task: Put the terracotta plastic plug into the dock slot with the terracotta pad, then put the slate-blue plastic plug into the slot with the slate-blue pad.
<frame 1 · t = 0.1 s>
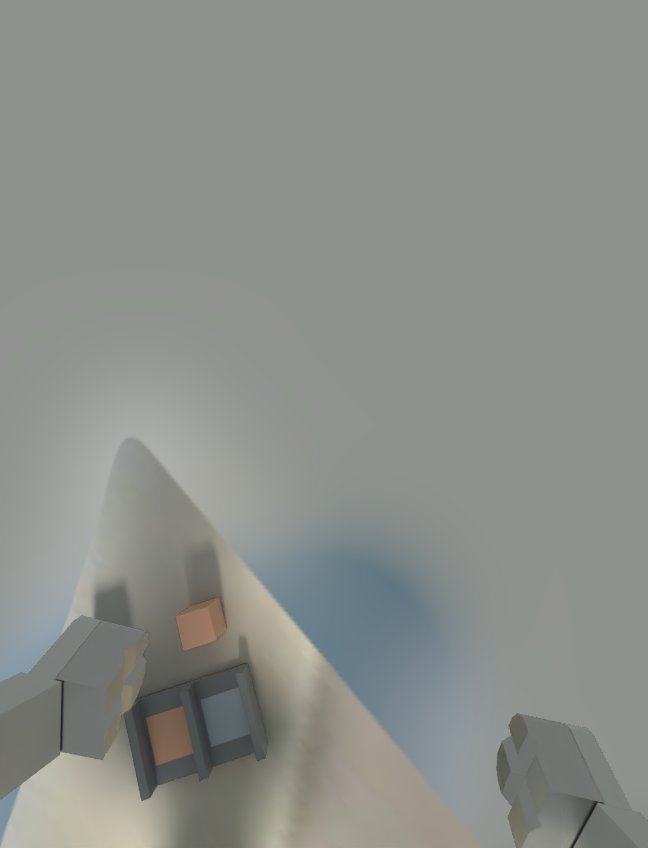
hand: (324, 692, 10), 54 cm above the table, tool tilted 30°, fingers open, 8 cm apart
slot dock: (200, 721, 59), on the table
terracotta plug: (208, 616, 61), on the table
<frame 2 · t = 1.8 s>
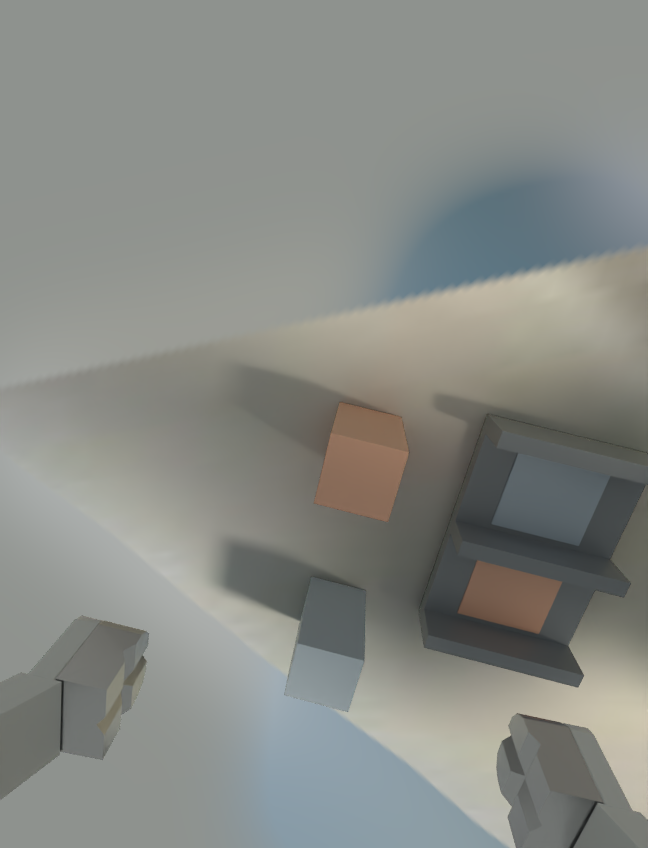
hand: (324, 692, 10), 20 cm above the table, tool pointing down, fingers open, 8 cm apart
slot dock: (524, 538, 30), on the table
slate-blue plug: (332, 606, 34), on the table
terracotta plug: (362, 438, 30), on the table
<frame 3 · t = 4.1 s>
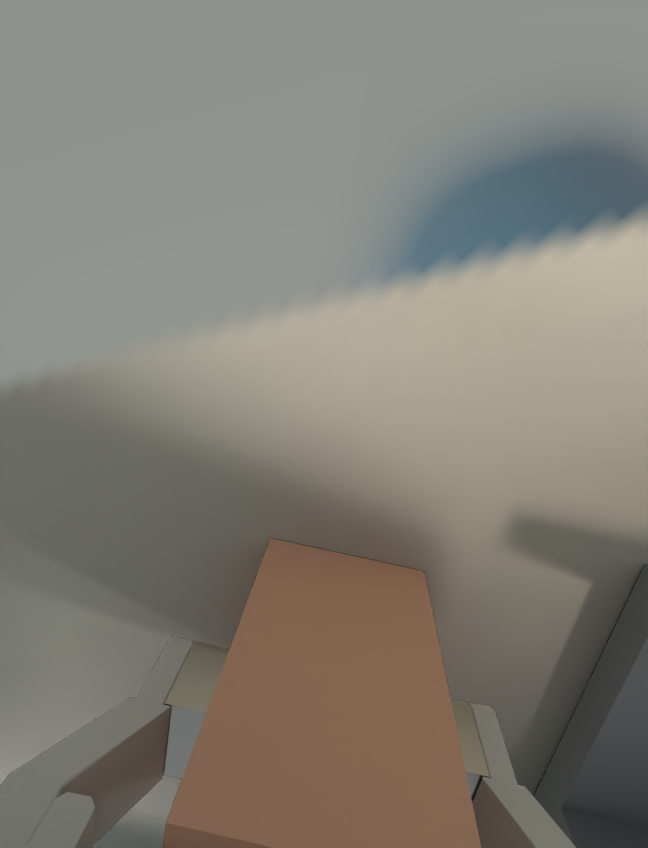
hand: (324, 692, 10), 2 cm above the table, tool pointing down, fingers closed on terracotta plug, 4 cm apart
terracotta plug: (331, 617, 12), on the table, touching gripper
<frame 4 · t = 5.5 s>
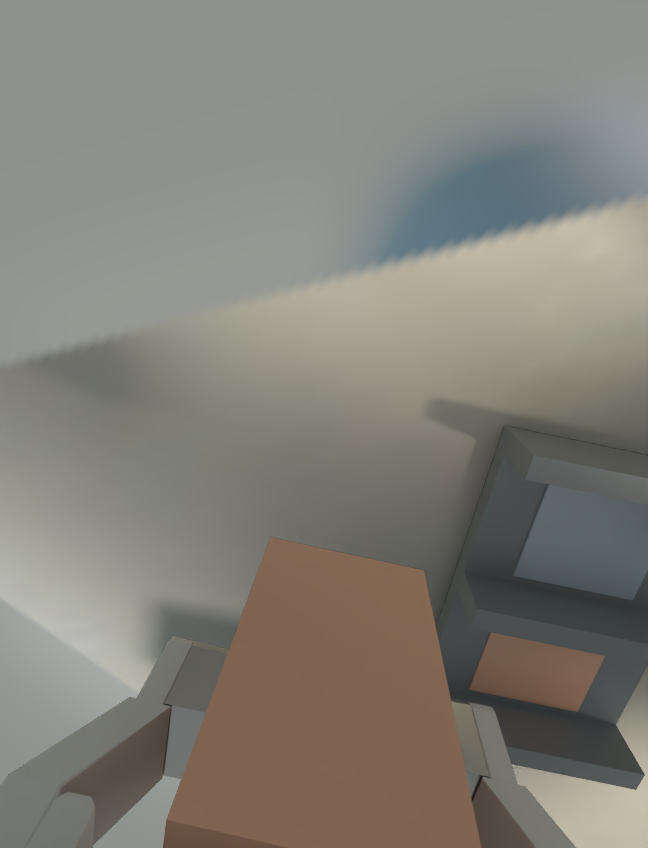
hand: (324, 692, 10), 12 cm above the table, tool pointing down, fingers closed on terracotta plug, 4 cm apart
slot dock: (556, 588, 23), on the table
terracotta plug: (331, 616, 12), point 10 cm above the table, touching gripper
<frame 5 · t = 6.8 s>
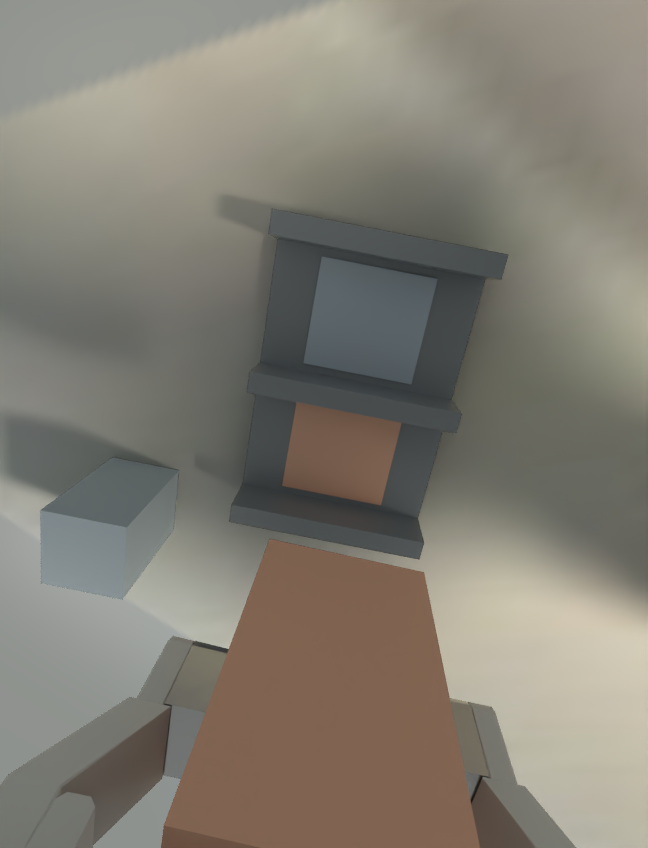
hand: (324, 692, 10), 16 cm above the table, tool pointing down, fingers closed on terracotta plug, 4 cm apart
slot dock: (353, 385, 25), on the table
slate-blue plug: (143, 493, 28), on the table
terracotta plug: (331, 618, 12), point 14 cm above the table, touching gripper
when the fingers open (4 cm above the table, at t = 9.7 s): terracotta plug stays where it is, resting on slot dock.
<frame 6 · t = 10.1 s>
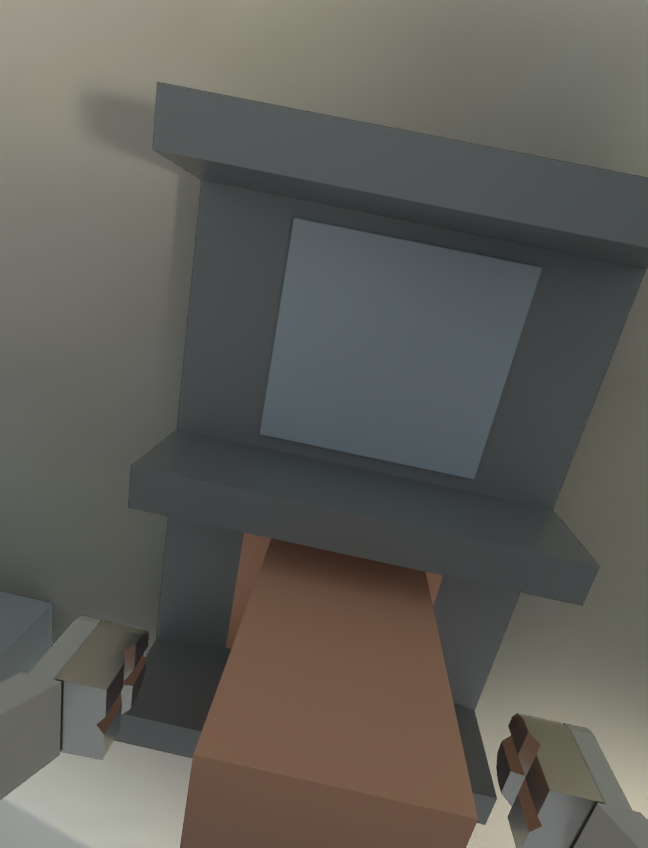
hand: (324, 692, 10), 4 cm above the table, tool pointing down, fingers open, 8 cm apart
slot dock: (359, 471, 13), on the table
terracotta plug: (334, 597, 13), point 1 cm above the table, touching slot dock
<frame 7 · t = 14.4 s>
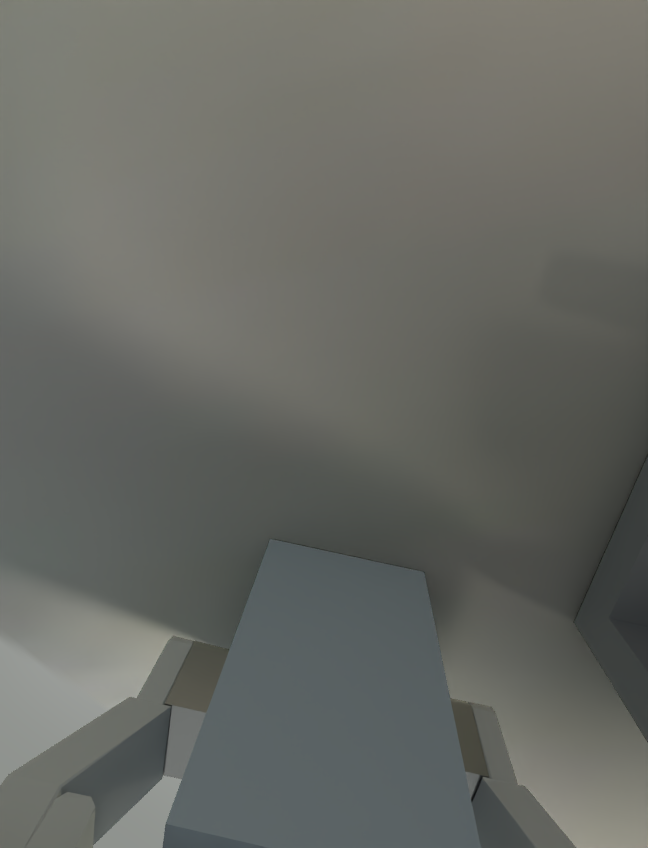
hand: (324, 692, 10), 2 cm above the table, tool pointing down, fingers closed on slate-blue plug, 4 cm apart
slate-blue plug: (331, 618, 12), on the table, touching gripper
when the fingers open (4 cm above the table, at t = 19.8 s): slate-blue plug stays where it is, resting on slot dock.
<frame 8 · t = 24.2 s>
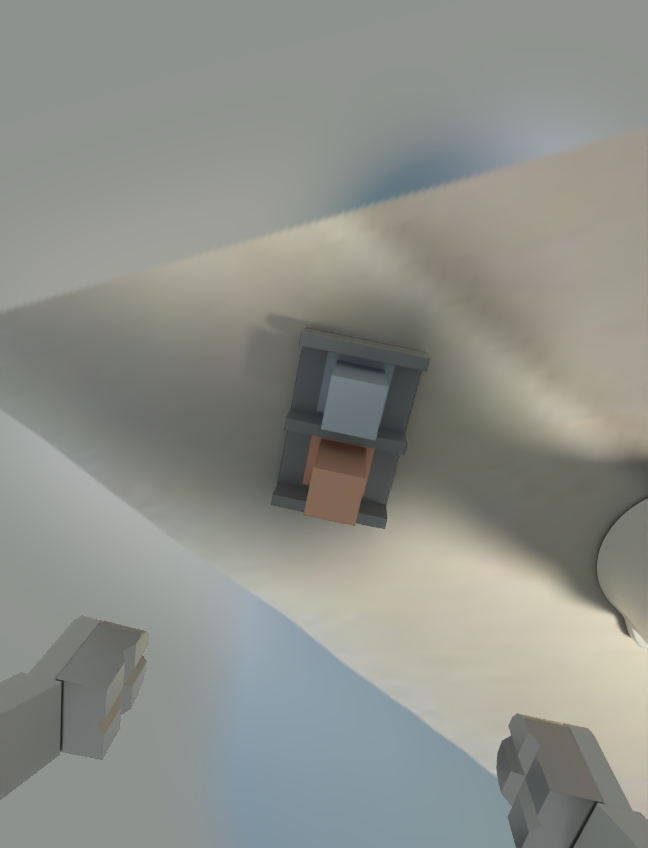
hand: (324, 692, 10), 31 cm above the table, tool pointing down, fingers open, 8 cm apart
slot dock: (346, 423, 41), on the table
slate-blue plug: (355, 388, 39), point 1 cm above the table, touching slot dock
terracotta plug: (339, 464, 41), point 1 cm above the table, touching slot dock
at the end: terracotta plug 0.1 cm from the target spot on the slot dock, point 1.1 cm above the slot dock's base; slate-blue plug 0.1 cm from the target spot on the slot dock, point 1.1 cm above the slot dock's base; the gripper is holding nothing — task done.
